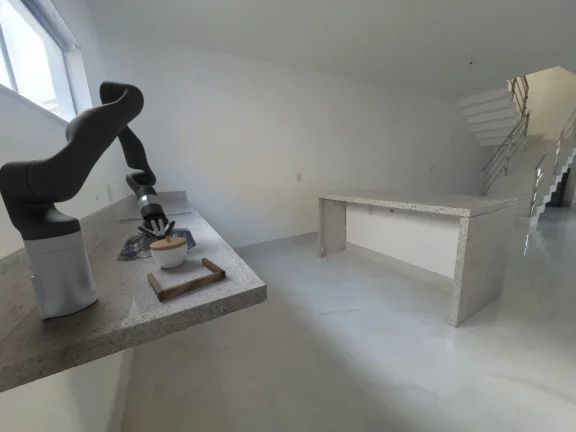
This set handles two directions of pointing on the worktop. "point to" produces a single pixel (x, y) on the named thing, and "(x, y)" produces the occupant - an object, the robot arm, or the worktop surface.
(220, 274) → the walnut bay
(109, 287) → the worktop surface
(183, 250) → the lidded jar
